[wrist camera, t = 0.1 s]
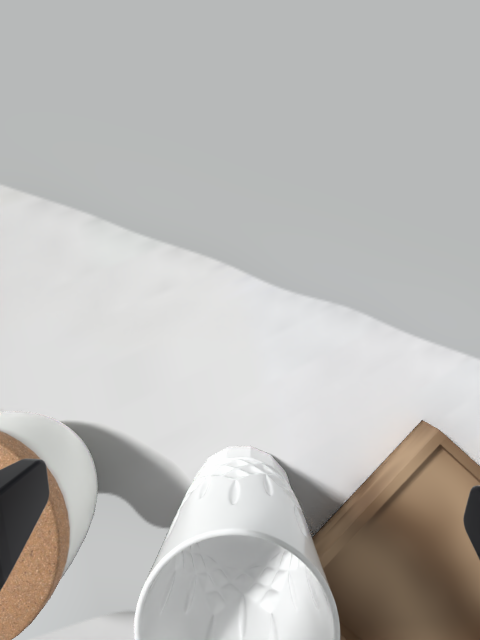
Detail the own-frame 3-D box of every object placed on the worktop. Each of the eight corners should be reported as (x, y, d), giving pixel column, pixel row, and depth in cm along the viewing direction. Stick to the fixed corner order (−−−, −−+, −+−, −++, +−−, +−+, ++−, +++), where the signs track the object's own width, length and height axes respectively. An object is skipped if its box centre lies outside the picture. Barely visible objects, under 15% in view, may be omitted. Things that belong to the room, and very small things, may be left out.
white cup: (296, 433, 22) (335, 526, 12) (302, 549, 22) (346, 735, 12) (181, 438, 23) (128, 533, 13) (187, 553, 23) (138, 738, 13)
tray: (424, 703, 22) (441, 741, 20) (281, 570, 22) (284, 595, 20) (568, 552, 22) (600, 576, 20) (422, 420, 22) (439, 429, 20)
